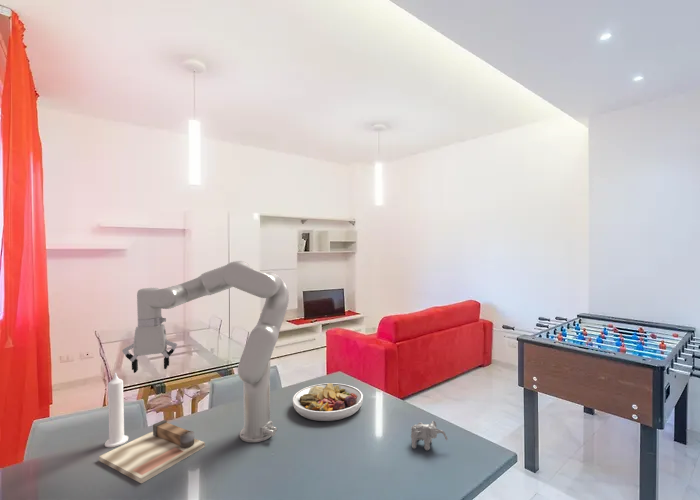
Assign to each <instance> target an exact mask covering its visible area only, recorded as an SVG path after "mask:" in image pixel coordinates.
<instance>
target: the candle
mask: <svg viewBox="0 0 700 500" xmlns="http://www.w3.org/2000/svg"><path fill="white" fill-rule="evenodd" d="M107 387H108V388H107V390H108V391H107V397H108V398H107V399H108V401H107V402H108V439H107V440H106V441H105V442H104V446H105V447H106V448H118V447H120V446H122V445H124V444H126V443H128V441H129V436H128V435H125V413H124V411H125V410H124V409H125V406H124V380H123V379H121V378H120V377H118V374H117V372H114V375H113V377H112V379H111V380H110V381H108V383H107Z"/></svg>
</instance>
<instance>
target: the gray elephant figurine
mask: <svg viewBox="0 0 700 500" xmlns="http://www.w3.org/2000/svg"><path fill="white" fill-rule="evenodd" d="M410 428H411V429H410V430H411V432H410V434H411V435H410V438H411V447H412V449H413V450H415V449H417V442H418V441H423V443H424V446H423V447H424V451H429V450H430V449H431V444H432V442H433V439H436V438H437V436H438V434H442V435H443V436H444V439H445V441H448V440H449V439H448V436H447V435H446V432H445V431H443V430H442V429H439V428H437V421H435V420H432V421H431V423H429V424H428V423H427V424H424V423H423V422H421V421H420V422H418V423H417V424H413V425H412V426H410Z"/></svg>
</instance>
